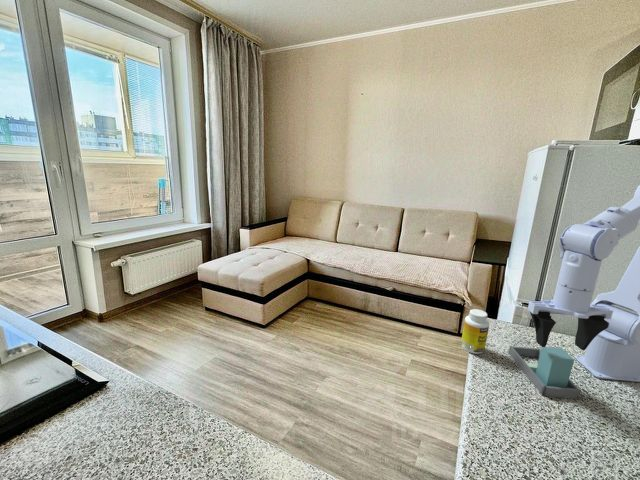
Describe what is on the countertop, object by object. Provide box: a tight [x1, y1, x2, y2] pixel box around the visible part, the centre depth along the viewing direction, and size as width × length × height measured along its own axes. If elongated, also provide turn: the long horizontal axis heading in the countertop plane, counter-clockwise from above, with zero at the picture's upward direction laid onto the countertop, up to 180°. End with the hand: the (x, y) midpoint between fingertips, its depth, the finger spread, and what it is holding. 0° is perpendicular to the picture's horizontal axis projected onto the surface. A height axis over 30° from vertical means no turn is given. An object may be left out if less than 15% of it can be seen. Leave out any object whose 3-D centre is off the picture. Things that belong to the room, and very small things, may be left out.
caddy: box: [508, 345, 582, 400], centre depth 69 cm, size 7×14×2 cm, turn 174°
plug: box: [535, 346, 575, 388], centre depth 65 cm, size 4×4×8 cm
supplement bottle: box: [460, 308, 490, 355], centre depth 77 cm, size 6×6×10 cm
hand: (560, 345), depth 64 cm, fingers open, 7 cm apart
